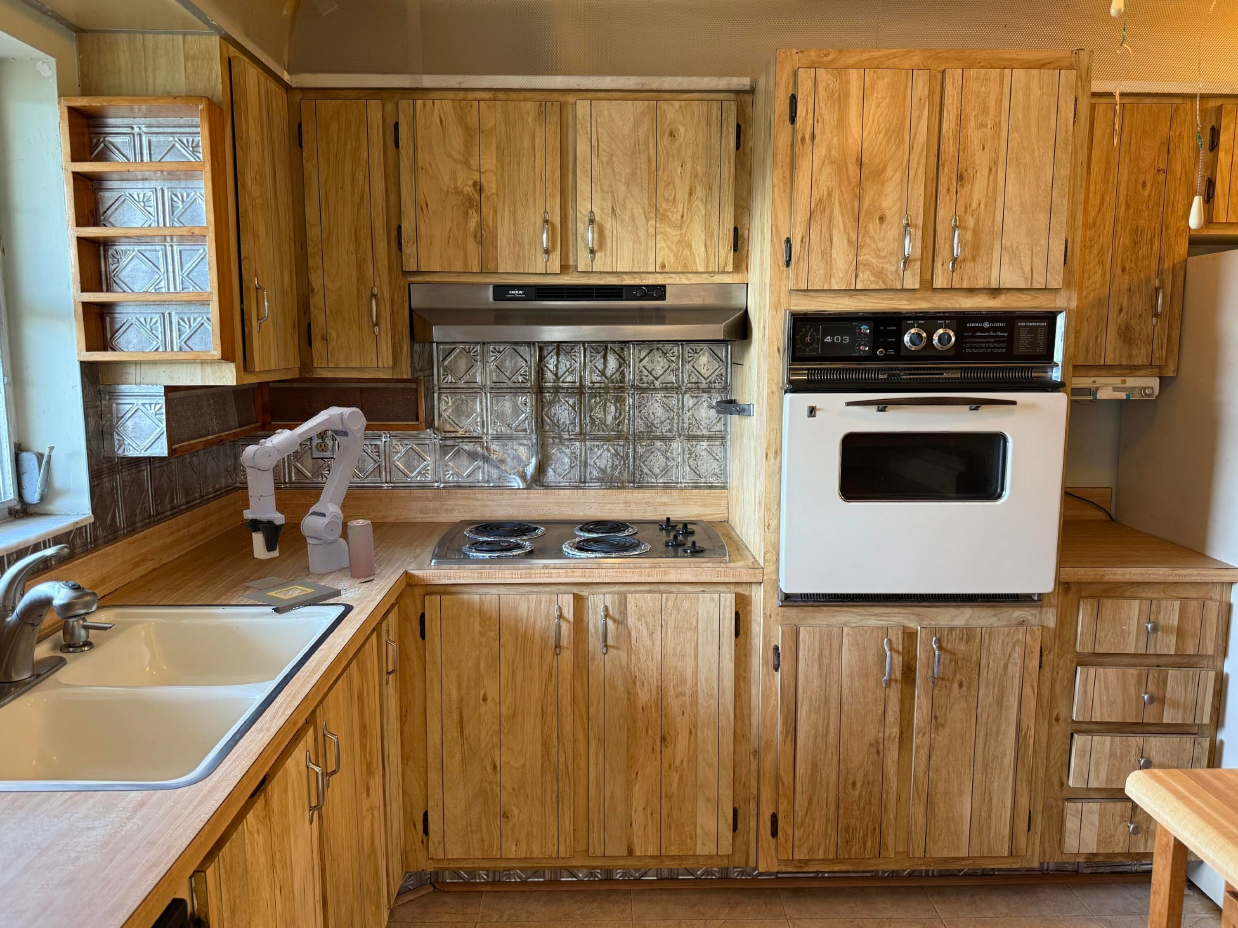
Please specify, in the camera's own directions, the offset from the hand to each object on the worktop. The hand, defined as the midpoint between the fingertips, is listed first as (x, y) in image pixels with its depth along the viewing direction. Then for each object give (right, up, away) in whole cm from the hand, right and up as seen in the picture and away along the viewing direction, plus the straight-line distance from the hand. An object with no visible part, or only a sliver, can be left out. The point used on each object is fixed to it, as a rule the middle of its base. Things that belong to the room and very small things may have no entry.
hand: (266, 549), depth 211 cm
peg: (0, -2, 0) cm, 2 cm away
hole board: (+9, -11, -7) cm, 15 cm away
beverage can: (+21, -9, +7) cm, 24 cm away
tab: (-1, -10, +2) cm, 10 cm away
